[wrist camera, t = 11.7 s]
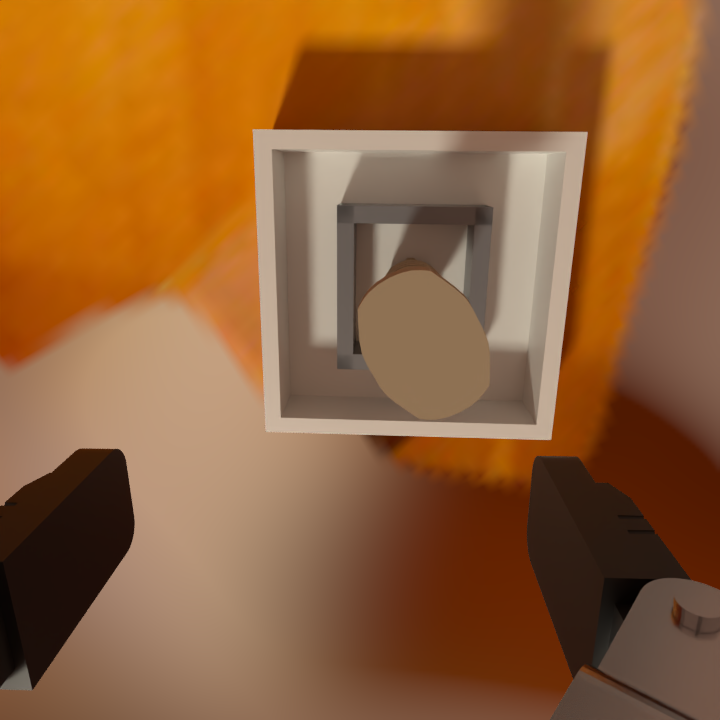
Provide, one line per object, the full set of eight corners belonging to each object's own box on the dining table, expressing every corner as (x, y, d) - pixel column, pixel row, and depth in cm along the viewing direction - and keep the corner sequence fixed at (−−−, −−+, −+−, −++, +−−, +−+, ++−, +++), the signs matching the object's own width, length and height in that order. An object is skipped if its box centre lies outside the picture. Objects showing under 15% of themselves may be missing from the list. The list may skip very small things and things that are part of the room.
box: (270, 135, 37) (252, 129, 32) (561, 137, 36) (587, 131, 31) (279, 402, 42) (265, 431, 37) (532, 409, 41) (551, 440, 37)
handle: (421, 219, 37) (442, 249, 22) (465, 307, 38) (512, 387, 24) (354, 256, 38) (334, 307, 23) (400, 341, 39) (408, 437, 25)
